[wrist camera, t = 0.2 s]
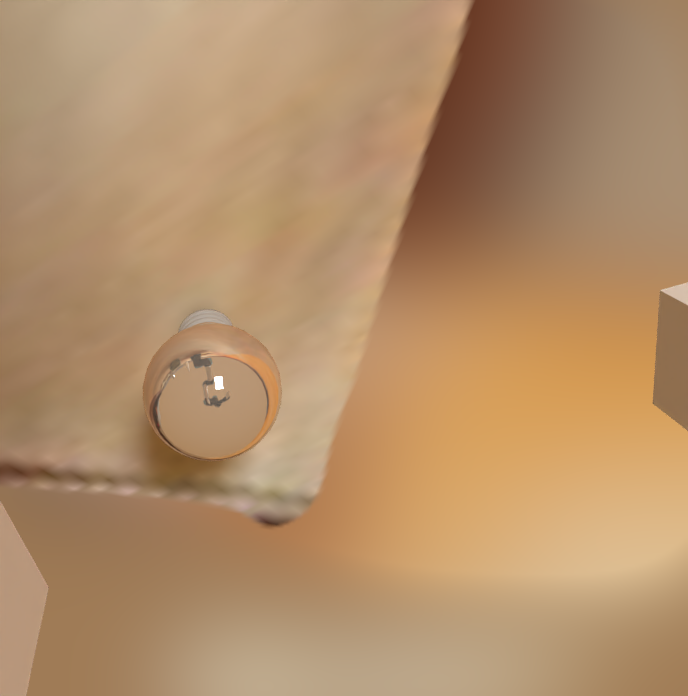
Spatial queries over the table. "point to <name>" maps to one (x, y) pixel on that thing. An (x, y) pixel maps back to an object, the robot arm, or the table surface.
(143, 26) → the table surface
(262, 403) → the light bulb
